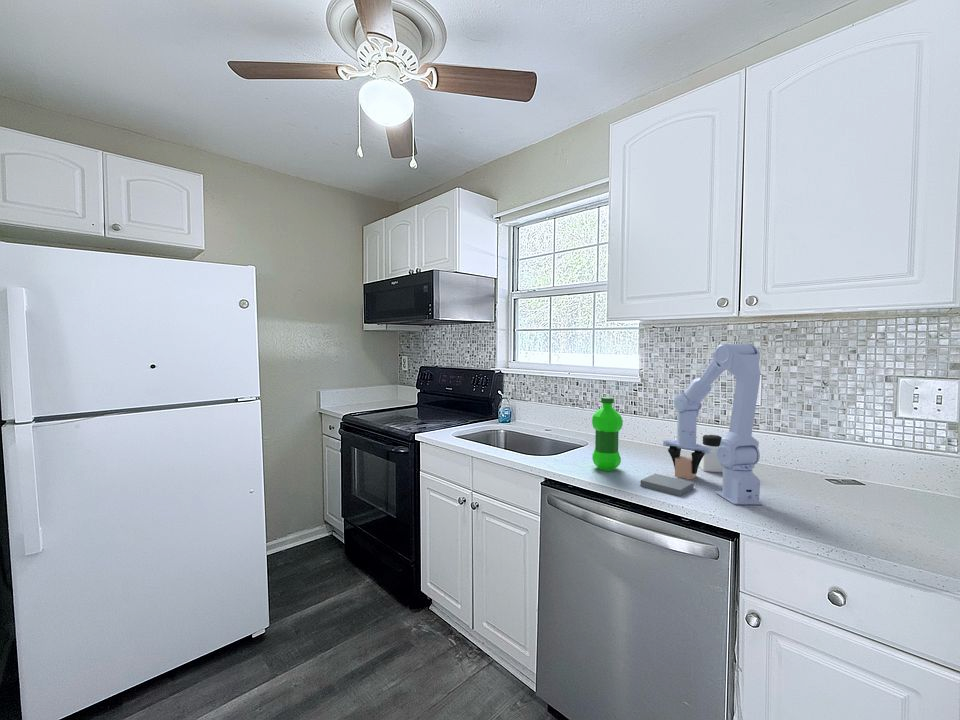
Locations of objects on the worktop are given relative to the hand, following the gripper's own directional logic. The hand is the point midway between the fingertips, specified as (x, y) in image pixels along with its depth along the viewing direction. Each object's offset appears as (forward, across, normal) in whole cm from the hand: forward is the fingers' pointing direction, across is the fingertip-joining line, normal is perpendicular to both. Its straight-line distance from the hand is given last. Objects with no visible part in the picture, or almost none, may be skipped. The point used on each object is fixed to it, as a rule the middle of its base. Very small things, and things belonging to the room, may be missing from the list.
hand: (685, 471), depth 143 cm
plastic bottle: (+2, +22, +12) cm, 25 cm away
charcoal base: (+2, 0, +16) cm, 16 cm away
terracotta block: (+2, 0, 0) cm, 2 cm away
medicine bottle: (+2, -3, -15) cm, 15 cm away
